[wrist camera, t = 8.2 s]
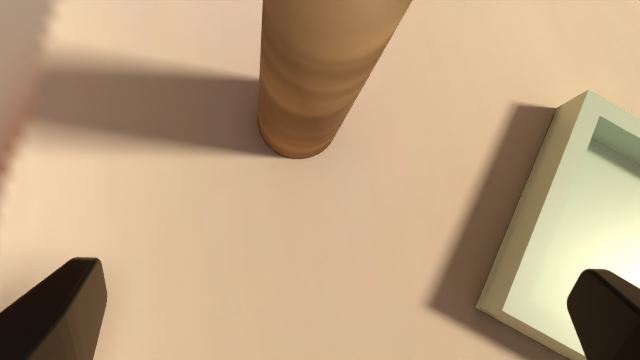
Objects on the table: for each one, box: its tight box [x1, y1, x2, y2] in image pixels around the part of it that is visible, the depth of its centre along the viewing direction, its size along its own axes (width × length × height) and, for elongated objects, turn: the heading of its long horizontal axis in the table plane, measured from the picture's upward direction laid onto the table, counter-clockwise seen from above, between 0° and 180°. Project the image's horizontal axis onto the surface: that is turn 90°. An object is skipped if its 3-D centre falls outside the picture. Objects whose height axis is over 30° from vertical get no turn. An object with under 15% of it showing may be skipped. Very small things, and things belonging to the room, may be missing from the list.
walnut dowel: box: [258, 0, 412, 159], centre depth 18 cm, size 4×4×12 cm
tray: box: [475, 90, 640, 360], centre depth 23 cm, size 12×12×2 cm
